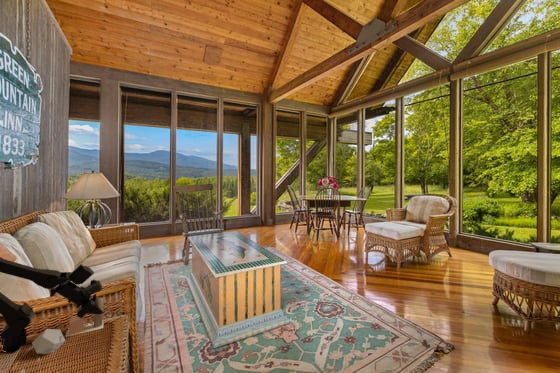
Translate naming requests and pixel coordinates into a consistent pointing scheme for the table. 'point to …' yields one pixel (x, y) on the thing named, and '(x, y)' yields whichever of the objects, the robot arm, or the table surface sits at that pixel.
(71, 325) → the cube
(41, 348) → the die
